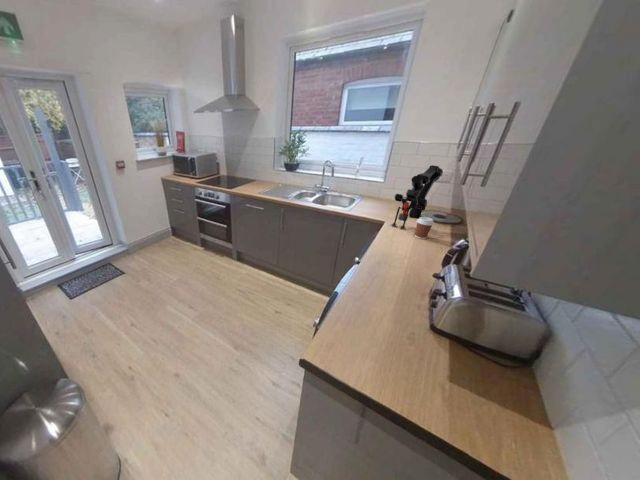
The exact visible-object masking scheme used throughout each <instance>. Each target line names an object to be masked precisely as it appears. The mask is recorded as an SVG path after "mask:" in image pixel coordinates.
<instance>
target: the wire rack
mask: <svg viewBox="0 0 640 480" xmlns="http://www.w3.org/2000/svg"><path fill="white" fill-rule="evenodd" d="M400 209H401V210H402V209H405V208H402V207H401V206H398V207H397V210H396V214H395V217H394V221H393V223H392V224H391V226H392V227H394V228H395V227H397V220H398V217H399V214H400ZM405 210H407V212H406V216H405V220H404V221H403V223H402V225H401V226H400V229H402V230H405V229H406V226H405V225H406V223H407V220H408V218H407V216H408V217H409V212H410V210H409V209H405ZM406 219H407V220H406Z"/></svg>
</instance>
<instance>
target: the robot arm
mask: <svg viewBox="0 0 640 480" xmlns="http://www.w3.org/2000/svg"><path fill="white" fill-rule="evenodd" d="M443 174H444V170H443V168H440V166H438V165H434V164H433V165H430V166H429V167H428V168H427V169H426V170H425V171H424V172H422V173H419V174H418V173H417V175H414V176H412V177H411V186H412V187H411V188H410V189H409V188H407V190H406V192H405V196H404V195H403V194H401V193H396V194H395V195H394V200H395V202H399V203H400V202H401V204H402V207H401V208H404V207H403V206H404V203H406V202H410V203H409V206H408V208H407V209H409V213H408V216H409V218H413V219H419V218H420V217H421V215H422V213H423V211H426V207H427V206H428V200H427V199H426V197H427V196H428V193H429V192H430V190H431V188H432V187H433V185H434V183H435V182H437V181H438V180H440V178H441V177H442V176H443ZM401 211H402V212H403V209H401ZM406 213H407V210H406Z"/></svg>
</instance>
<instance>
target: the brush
mask: <svg viewBox="0 0 640 480" xmlns="http://www.w3.org/2000/svg"><path fill="white" fill-rule="evenodd" d="M409 202H410V201H407V202H406V203H404V206H403V205H402V206H403V207H404V208H405V209H407V208H408V207H409V205H410V203H409ZM405 209H403V211H402V212H399V213H398V217H397V220H399V221H402V222H404V220H405V216H406V213H407V212H406V210H405ZM408 217H409V215H408V216H407V219H406V221H408Z"/></svg>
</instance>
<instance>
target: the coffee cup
mask: <svg viewBox="0 0 640 480" xmlns="http://www.w3.org/2000/svg"><path fill="white" fill-rule="evenodd" d="M434 225H435V222H434V219H433V218H432V217H428V216H420V218H416V227H415V231H414V235H413V236H415V238H418V239H423V240H424V239H425V240H426V239H427V237H428V235H429V233H430V231H431V229H432V227H433V226H434Z"/></svg>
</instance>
